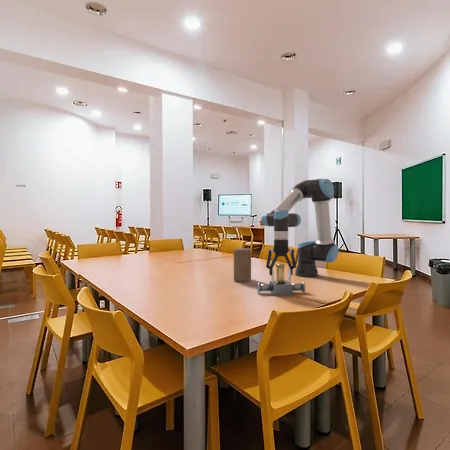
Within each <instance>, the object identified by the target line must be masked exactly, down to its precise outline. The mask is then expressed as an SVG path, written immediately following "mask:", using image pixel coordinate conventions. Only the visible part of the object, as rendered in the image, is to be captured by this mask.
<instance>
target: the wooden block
mask: <svg viewBox="0 0 450 450" xmlns="http://www.w3.org/2000/svg"><path fill="white" fill-rule="evenodd" d="M251 279H252V248H249V247H248V248H246V247H244V248H243V247H237V248H235V249H233V282H239V283H241V282H242V283H245V282H246V283H249V282H250V281H251Z"/></svg>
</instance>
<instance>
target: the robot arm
mask: <svg viewBox="0 0 450 450" xmlns="http://www.w3.org/2000/svg"><path fill="white" fill-rule="evenodd" d="M333 184H334V183H333V182H332V181H331V180H330V179H329V178H317V179H307V180H302V181H301V182H299V183H297V184H295V185H294V186H293V187H292V188H291V189H290V190H289V193H288V194H287V195H286V196H285V197H284V198H283V200H281V201H280V202H279V203H278V204H277V205H276V206H275V207H274V208H273V209H272V211H270V212H269V213H268V212H266V213H264V214H262V215H261V224H262V226H265V227H273V238H274V239H273V248H271V249H267V252H268V254H267V260H266V263H265V268H266V269H269V272H268V273H269V276H271V277H270V278H271V279H270V281H272V282H274V281H275V279H274V278H275V277H274V276H275V270H274V266H275V265H276V262H277V260H278V258H279V257H283V258H284V259H285V261H286V263H287V265H288V267H289V268H287V281H289V282H290V283H292V282H291V281H292V280H291V279H292V277H291V276H293V274H294V275H295V276H298V277H303V278H304V277H306V278H311V277H312V278H313V277H314V276H315V277H318V276H317V275H319V271H318V268H317V265H316V262H324V263H334V262H336V260H337V258H338V256H339V246H338V245H337V244H336V243H335V240H334V239H333V238H332V227H331V216H330V215H331V214H330V204H329V203H330V201H331V200H332V198H333V197H334V195H335V189H334V188H335V187H334V185H333ZM304 199H311V202H312V203H313V204H314V210H315V223H316V234H317V235H316V236H317V240H310V241H309V240H308V241H307V240H306V241H301V242H299V243H297V244H298V245H297V265H296V258H295V249H292V248H289V228H296V227H298V226H300V224H302V223H301V222H302V218H301V216H300V214H298V213H294V212H293V213H290V211H291V209H293V208H294V206H296V204H297V203H298V202H301V201H303V200H304ZM273 253H274V256H273V259H272V261H271V258H272V254H273ZM288 253H289V254H290V258H291V259H289V256H288ZM294 269H295V270H294ZM293 270H294V271H295V273H294V272H293Z"/></svg>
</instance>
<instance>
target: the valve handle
mask: <svg viewBox="0 0 450 450" xmlns="http://www.w3.org/2000/svg"><path fill="white" fill-rule="evenodd" d="M275 266H276V267H275V268H276V269H275V270H276V281H277V284H284V281H285V267H286V266H285V263H281V262H280V263H275Z"/></svg>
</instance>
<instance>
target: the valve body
mask: <svg viewBox="0 0 450 450" xmlns="http://www.w3.org/2000/svg"><path fill="white" fill-rule="evenodd" d="M256 289H257V291H256V292H257V293H258V294H259V293H261V292H270V293H271V294H272V295H273V296H274V297H277V296H282V297H283V296H293V294H294V293H293V292H295V291H298V292H299V291H300V292H302V293H305V292H306V283H305V282H304V281H301V282H300V283H292V282H289V281H288V280H284V284H277V280H274V282H272V281H271V280H269V283H268V284H267V283H264V284H263V283H262V284H260V282H257V285H256Z"/></svg>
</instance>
